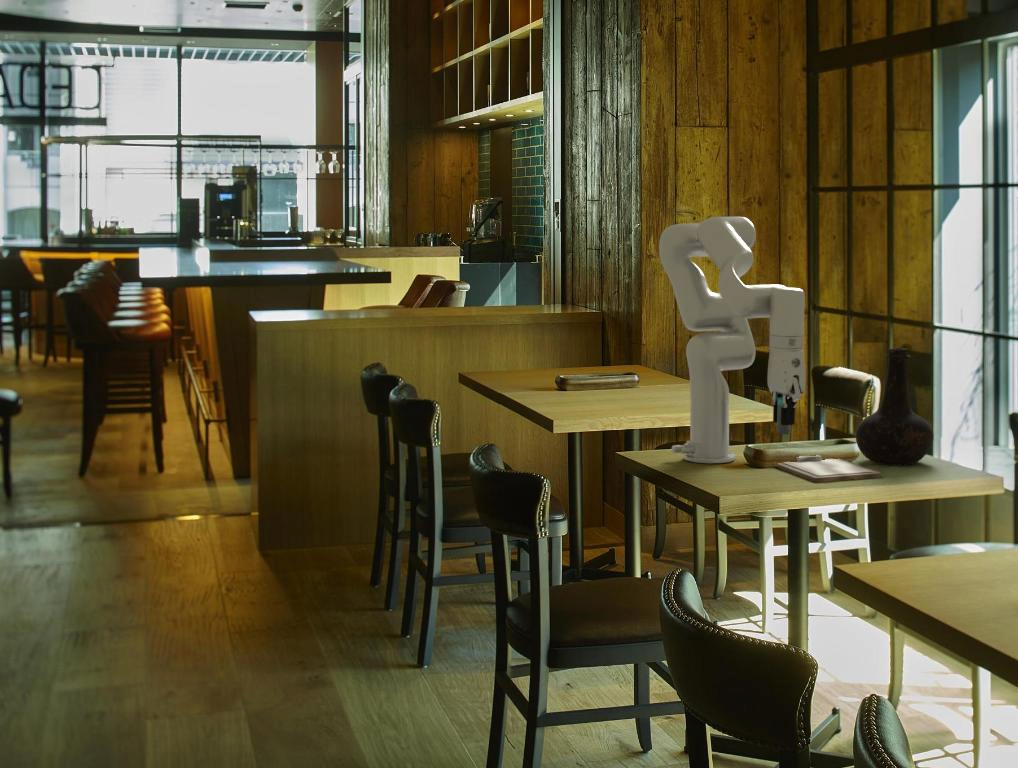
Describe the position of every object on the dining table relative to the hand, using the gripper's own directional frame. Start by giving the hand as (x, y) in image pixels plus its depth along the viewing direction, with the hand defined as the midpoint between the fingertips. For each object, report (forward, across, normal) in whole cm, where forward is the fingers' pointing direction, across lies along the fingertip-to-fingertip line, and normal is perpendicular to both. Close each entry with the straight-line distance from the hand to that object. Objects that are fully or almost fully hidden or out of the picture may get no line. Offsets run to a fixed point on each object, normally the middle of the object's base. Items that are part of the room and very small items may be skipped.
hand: (783, 422), depth 286 cm
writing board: (+13, +5, -14) cm, 20 cm away
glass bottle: (+14, +10, -35) cm, 39 cm away
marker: (+2, 0, 0) cm, 2 cm away
